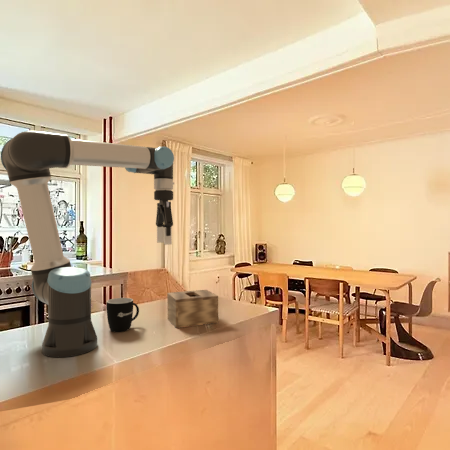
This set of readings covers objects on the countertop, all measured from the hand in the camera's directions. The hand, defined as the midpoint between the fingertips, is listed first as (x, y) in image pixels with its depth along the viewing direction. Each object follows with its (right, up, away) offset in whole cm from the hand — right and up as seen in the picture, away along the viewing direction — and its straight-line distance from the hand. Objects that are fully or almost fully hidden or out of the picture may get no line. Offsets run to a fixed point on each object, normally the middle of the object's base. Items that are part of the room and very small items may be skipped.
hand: (164, 243), depth 143 cm
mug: (-11, -29, -17) cm, 36 cm away
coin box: (+12, -29, -8) cm, 32 cm away
